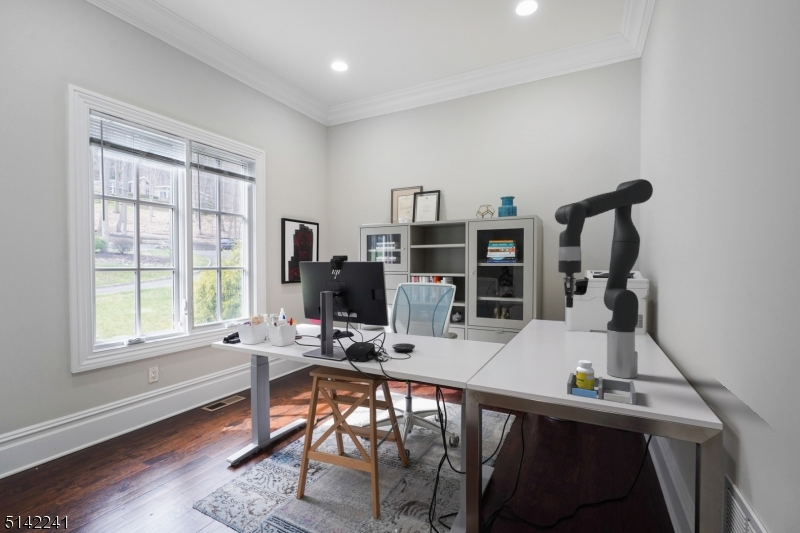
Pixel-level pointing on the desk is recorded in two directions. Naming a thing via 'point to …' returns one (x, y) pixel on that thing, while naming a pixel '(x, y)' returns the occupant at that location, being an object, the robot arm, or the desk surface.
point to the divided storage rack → (604, 384)
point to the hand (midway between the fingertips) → (569, 307)
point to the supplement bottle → (585, 375)
